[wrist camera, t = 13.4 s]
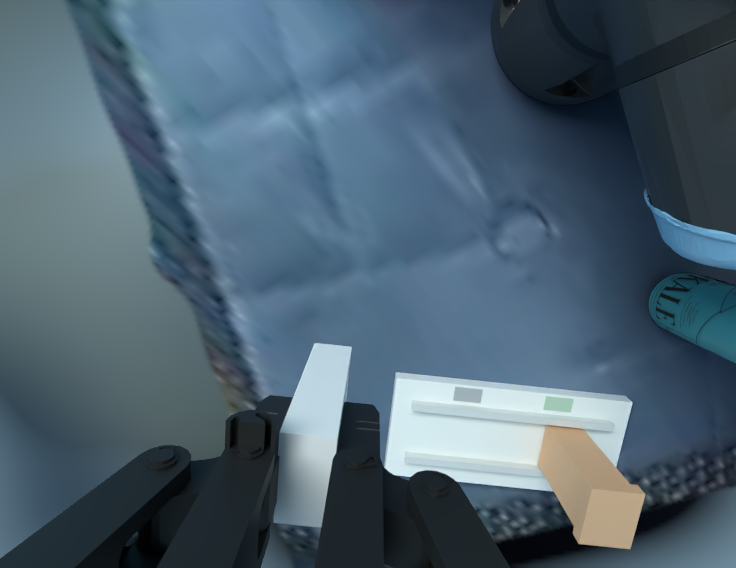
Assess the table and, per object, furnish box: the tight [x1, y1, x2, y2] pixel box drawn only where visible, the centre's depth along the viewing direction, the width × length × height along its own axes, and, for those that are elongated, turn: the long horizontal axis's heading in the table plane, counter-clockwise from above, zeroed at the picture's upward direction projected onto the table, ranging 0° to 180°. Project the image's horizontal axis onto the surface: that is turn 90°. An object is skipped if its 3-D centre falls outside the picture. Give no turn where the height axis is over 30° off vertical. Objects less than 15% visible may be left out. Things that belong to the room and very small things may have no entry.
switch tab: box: [538, 425, 645, 549], centre depth 43 cm, size 5×6×11 cm
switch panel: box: [384, 372, 633, 492], centre depth 49 cm, size 26×12×2 cm, turn 84°
